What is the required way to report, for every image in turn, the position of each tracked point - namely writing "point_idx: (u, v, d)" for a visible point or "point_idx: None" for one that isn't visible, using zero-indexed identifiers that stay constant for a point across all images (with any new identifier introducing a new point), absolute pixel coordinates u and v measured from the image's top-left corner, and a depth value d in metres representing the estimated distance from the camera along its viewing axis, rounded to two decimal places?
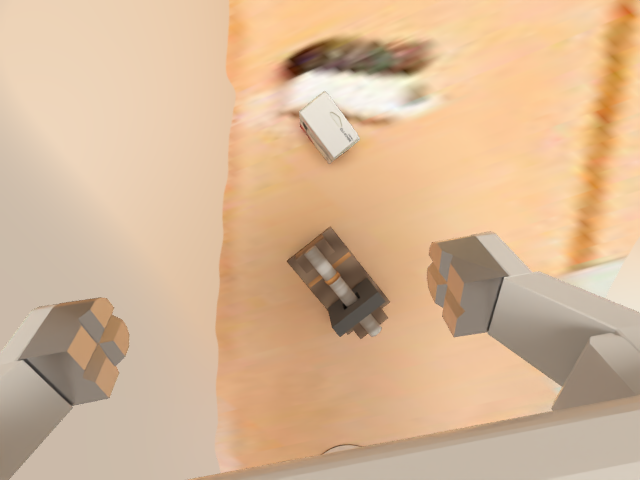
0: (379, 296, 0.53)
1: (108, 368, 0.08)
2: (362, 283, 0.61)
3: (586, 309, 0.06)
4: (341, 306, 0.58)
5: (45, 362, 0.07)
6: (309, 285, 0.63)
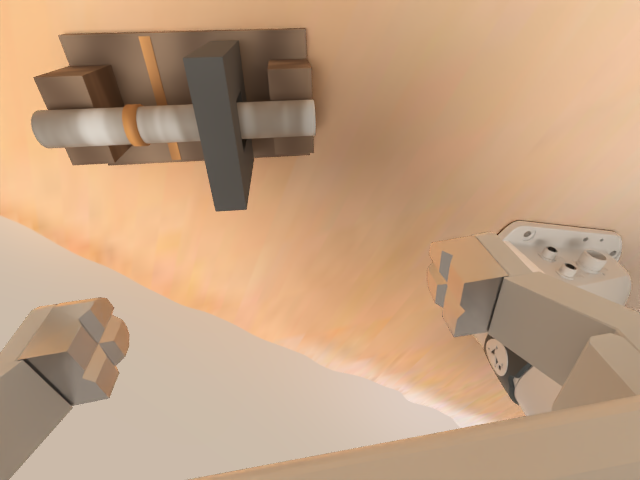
0: (198, 63, 0.18)
1: (108, 368, 0.08)
2: None
3: (586, 309, 0.06)
4: None
5: (45, 362, 0.07)
6: (175, 158, 0.31)
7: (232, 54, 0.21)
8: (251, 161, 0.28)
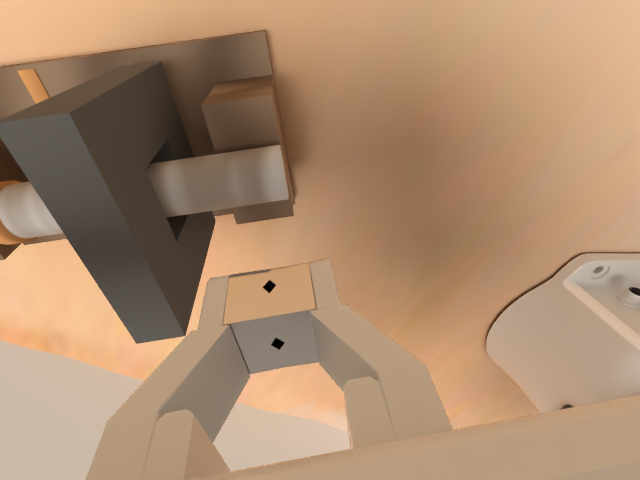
0: (26, 130, 0.09)
1: None
2: None
3: (363, 348, 0.06)
4: None
5: (246, 327, 0.07)
6: None
7: (130, 91, 0.13)
8: (206, 232, 0.19)
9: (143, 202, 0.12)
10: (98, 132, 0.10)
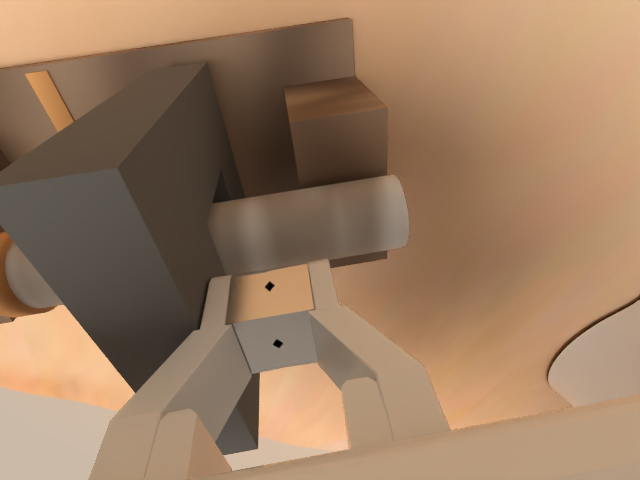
0: (36, 198, 0.05)
1: None
2: None
3: (361, 348, 0.06)
4: None
5: (248, 327, 0.07)
6: None
7: (184, 110, 0.08)
8: None
9: (209, 278, 0.08)
10: (156, 188, 0.06)
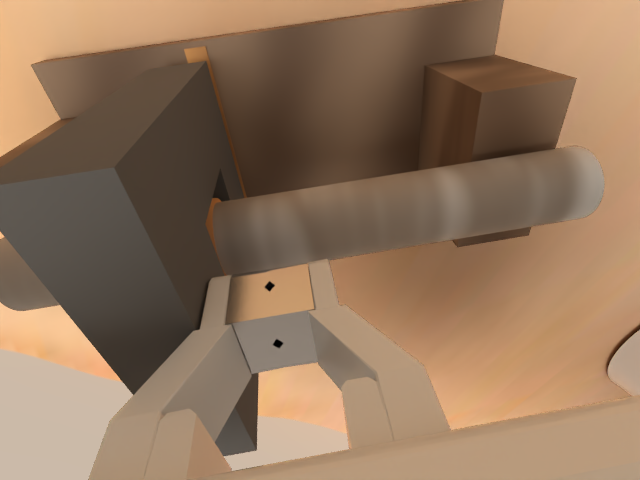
0: (32, 198, 0.05)
1: None
2: None
3: (361, 349, 0.06)
4: None
5: (247, 327, 0.07)
6: None
7: (183, 109, 0.08)
8: None
9: (207, 278, 0.08)
10: (154, 188, 0.06)
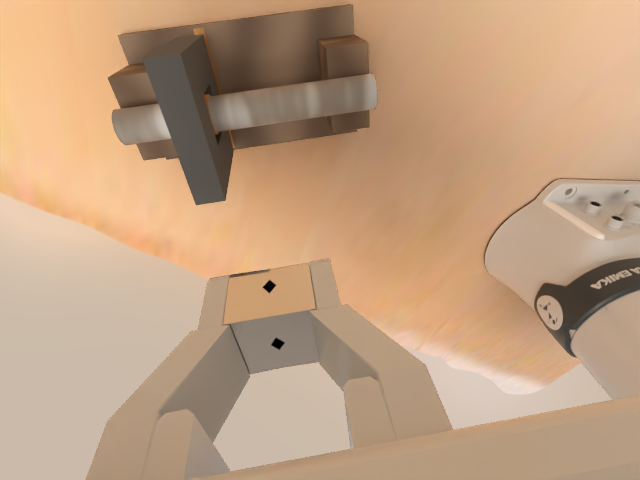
0: (157, 62, 0.18)
1: None
2: None
3: (363, 349, 0.06)
4: None
5: (246, 327, 0.07)
6: None
7: (194, 49, 0.22)
8: (230, 153, 0.29)
9: (204, 113, 0.22)
10: (188, 67, 0.19)
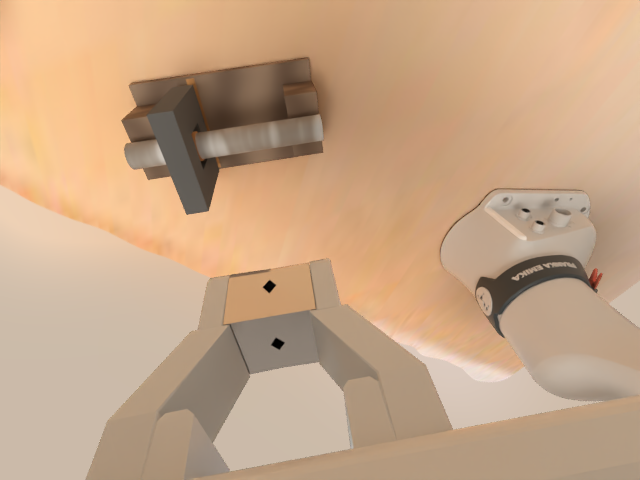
0: (157, 117, 0.26)
1: None
2: None
3: (363, 349, 0.06)
4: None
5: (246, 327, 0.07)
6: None
7: (185, 101, 0.30)
8: (215, 173, 0.37)
9: (191, 147, 0.30)
10: (178, 118, 0.27)
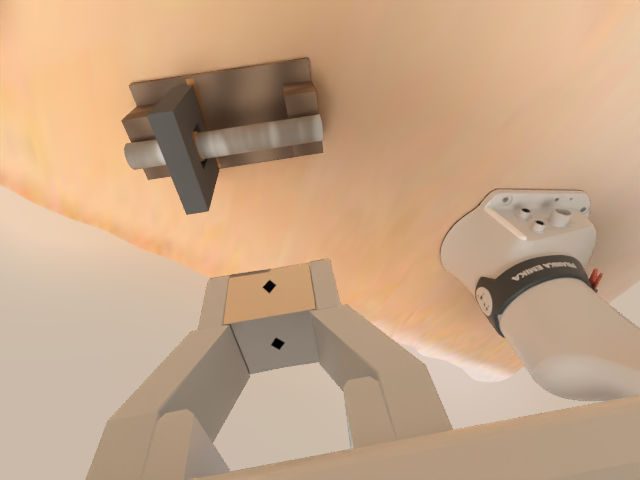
0: (157, 117, 0.26)
1: None
2: None
3: (363, 348, 0.06)
4: None
5: (246, 328, 0.07)
6: None
7: (185, 101, 0.30)
8: (215, 173, 0.37)
9: (191, 148, 0.30)
10: (178, 118, 0.27)
